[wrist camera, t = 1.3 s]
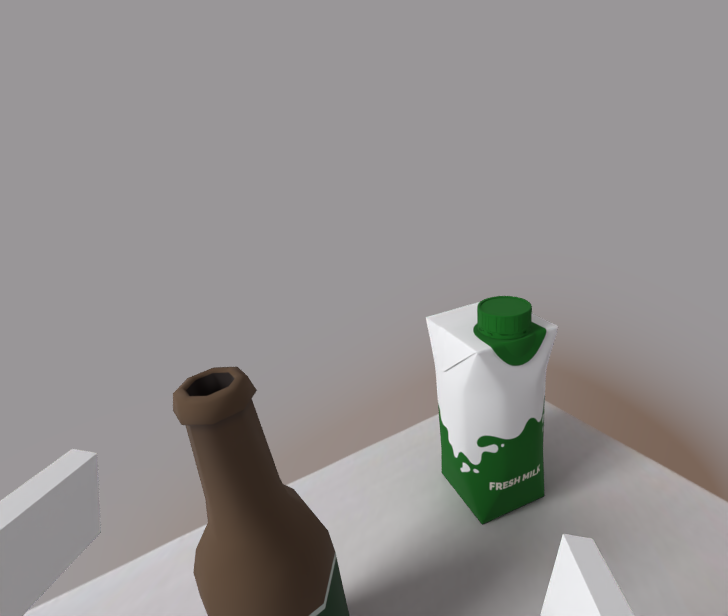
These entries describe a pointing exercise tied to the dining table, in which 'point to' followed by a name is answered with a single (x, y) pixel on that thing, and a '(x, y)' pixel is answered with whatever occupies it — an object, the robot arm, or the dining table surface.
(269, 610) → the beer bottle
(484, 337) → the milk carton
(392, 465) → the dining table surface
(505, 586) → the dining table surface
